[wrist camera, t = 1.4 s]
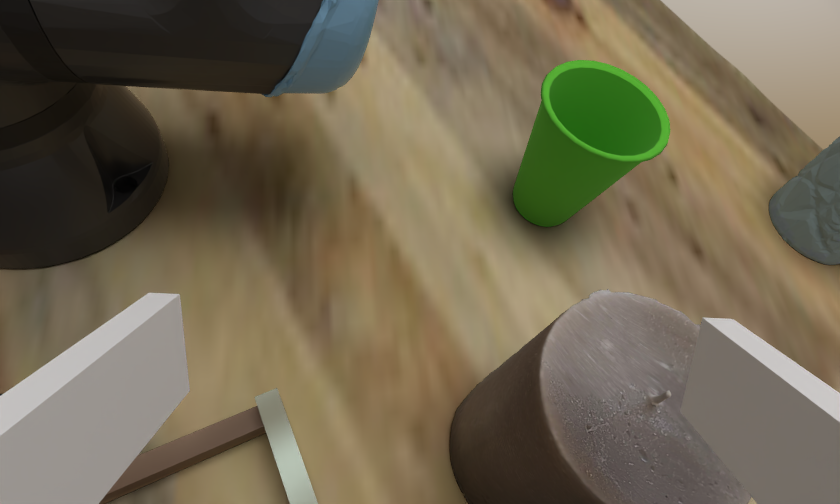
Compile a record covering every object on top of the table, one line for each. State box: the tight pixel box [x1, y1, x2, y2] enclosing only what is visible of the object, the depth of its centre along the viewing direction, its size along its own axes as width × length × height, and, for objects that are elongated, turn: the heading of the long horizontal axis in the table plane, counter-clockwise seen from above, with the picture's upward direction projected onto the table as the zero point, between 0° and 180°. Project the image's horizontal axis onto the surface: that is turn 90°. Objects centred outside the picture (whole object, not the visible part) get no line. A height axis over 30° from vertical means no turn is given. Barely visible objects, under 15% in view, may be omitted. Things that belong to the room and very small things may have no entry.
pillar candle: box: [450, 289, 752, 504], centre depth 25 cm, size 10×10×15 cm
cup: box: [513, 60, 670, 227], centre depth 37 cm, size 9×9×11 cm
